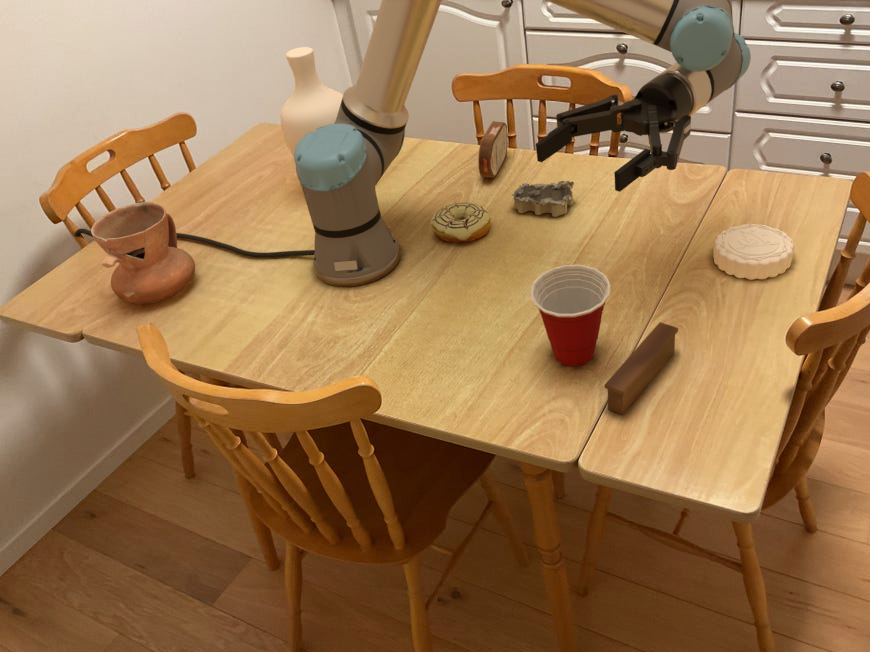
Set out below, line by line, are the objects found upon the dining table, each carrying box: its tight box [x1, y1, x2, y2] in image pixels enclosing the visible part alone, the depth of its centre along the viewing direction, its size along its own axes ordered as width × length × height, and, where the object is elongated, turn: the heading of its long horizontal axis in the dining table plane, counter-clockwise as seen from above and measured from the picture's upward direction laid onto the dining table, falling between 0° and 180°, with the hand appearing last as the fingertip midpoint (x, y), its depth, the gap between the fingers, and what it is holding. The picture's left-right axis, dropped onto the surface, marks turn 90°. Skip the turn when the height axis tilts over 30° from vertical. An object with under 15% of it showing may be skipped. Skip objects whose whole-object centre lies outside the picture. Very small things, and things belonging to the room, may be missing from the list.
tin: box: [478, 120, 509, 179], centre depth 157 cm, size 15×3×8 cm, turn 164°
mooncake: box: [712, 223, 795, 281], centre depth 123 cm, size 12×12×4 cm
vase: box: [279, 46, 344, 158], centre depth 154 cm, size 14×14×28 cm
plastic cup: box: [529, 264, 611, 367], centre depth 107 cm, size 11×11×12 cm
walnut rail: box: [604, 321, 679, 416], centre depth 104 cm, size 3×15×4 cm, turn 142°
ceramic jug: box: [90, 201, 196, 305], centre depth 135 cm, size 18×14×14 cm
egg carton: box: [511, 180, 575, 218], centre depth 144 cm, size 11×8×4 cm
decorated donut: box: [430, 201, 492, 243], centre depth 141 cm, size 10×11×4 cm
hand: (576, 167), depth 103 cm, fingers open, 13 cm apart
